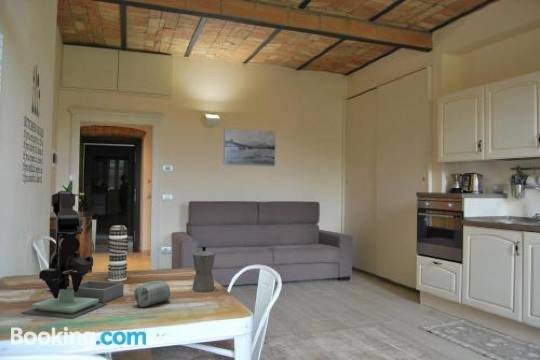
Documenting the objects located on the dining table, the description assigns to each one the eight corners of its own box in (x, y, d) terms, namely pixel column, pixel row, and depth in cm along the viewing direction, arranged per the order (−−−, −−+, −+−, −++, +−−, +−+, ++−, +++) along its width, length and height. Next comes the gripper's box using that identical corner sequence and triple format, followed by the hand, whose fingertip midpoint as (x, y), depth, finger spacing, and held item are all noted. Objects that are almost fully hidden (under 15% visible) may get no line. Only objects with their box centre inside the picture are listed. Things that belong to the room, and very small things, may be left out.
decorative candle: (123, 281, 187) (124, 226, 187) (103, 281, 187) (104, 226, 188) (130, 277, 196) (131, 224, 197) (111, 277, 196) (112, 224, 197)
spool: (143, 302, 140) (143, 274, 145) (128, 310, 145) (128, 282, 150) (177, 304, 149) (175, 278, 154) (162, 312, 154) (160, 286, 159)
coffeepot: (216, 292, 167) (216, 248, 168) (192, 293, 165) (193, 249, 166) (212, 284, 182) (213, 243, 183) (191, 285, 180) (191, 244, 181)
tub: (66, 300, 153) (66, 287, 153) (88, 293, 165) (88, 280, 165) (103, 303, 149) (103, 290, 149) (123, 295, 161) (123, 283, 161)
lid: (31, 310, 138) (32, 292, 138) (59, 301, 150) (60, 284, 151) (73, 315, 134) (73, 296, 134) (98, 305, 146) (99, 287, 146)
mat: (21, 313, 136) (21, 312, 136) (60, 300, 153) (60, 299, 153) (72, 318, 131) (72, 317, 131) (106, 305, 148) (106, 303, 148)
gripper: (67, 255, 132) (65, 304, 131) (104, 247, 150) (103, 290, 149) (38, 253, 135) (37, 301, 134) (78, 246, 153) (77, 288, 152)
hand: (66, 295), depth 142 cm, fingers open, 9 cm apart
